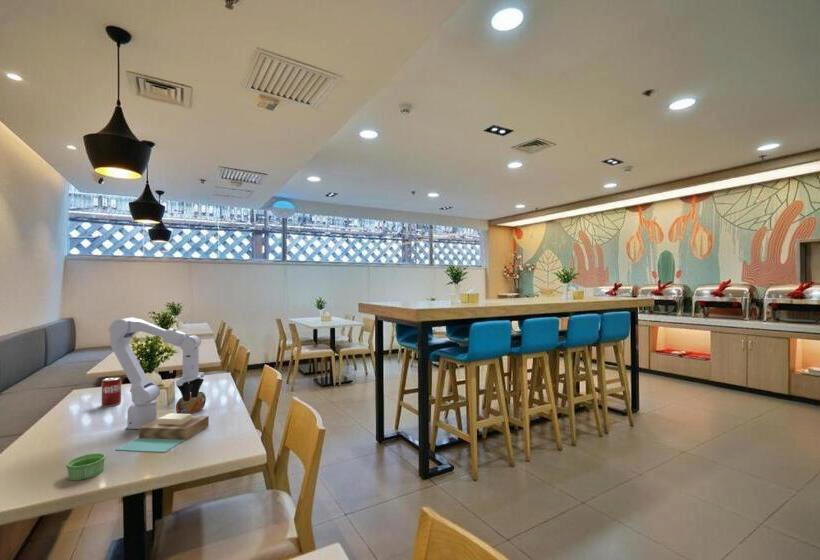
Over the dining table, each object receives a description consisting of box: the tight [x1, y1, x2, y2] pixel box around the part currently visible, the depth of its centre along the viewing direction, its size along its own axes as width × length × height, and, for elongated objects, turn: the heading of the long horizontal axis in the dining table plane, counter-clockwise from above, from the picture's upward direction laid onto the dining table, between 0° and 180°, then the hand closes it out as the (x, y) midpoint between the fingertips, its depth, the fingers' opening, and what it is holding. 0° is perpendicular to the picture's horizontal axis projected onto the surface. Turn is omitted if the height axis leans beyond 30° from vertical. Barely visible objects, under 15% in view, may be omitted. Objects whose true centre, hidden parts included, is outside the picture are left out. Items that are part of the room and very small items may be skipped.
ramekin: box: [66, 452, 106, 481], centre depth 116 cm, size 9×9×4 cm
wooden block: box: [138, 414, 210, 441], centre depth 148 cm, size 18×14×4 cm
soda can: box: [101, 376, 122, 408], centre depth 182 cm, size 7×7×12 cm
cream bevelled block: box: [157, 412, 192, 425], centre depth 148 cm, size 9×6×2 cm, turn 85°
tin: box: [175, 391, 207, 415], centre depth 170 cm, size 15×3×8 cm, turn 168°
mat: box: [115, 437, 186, 453], centre depth 136 cm, size 18×10×1 cm, turn 85°
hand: (190, 399), depth 157 cm, fingers open, 4 cm apart
